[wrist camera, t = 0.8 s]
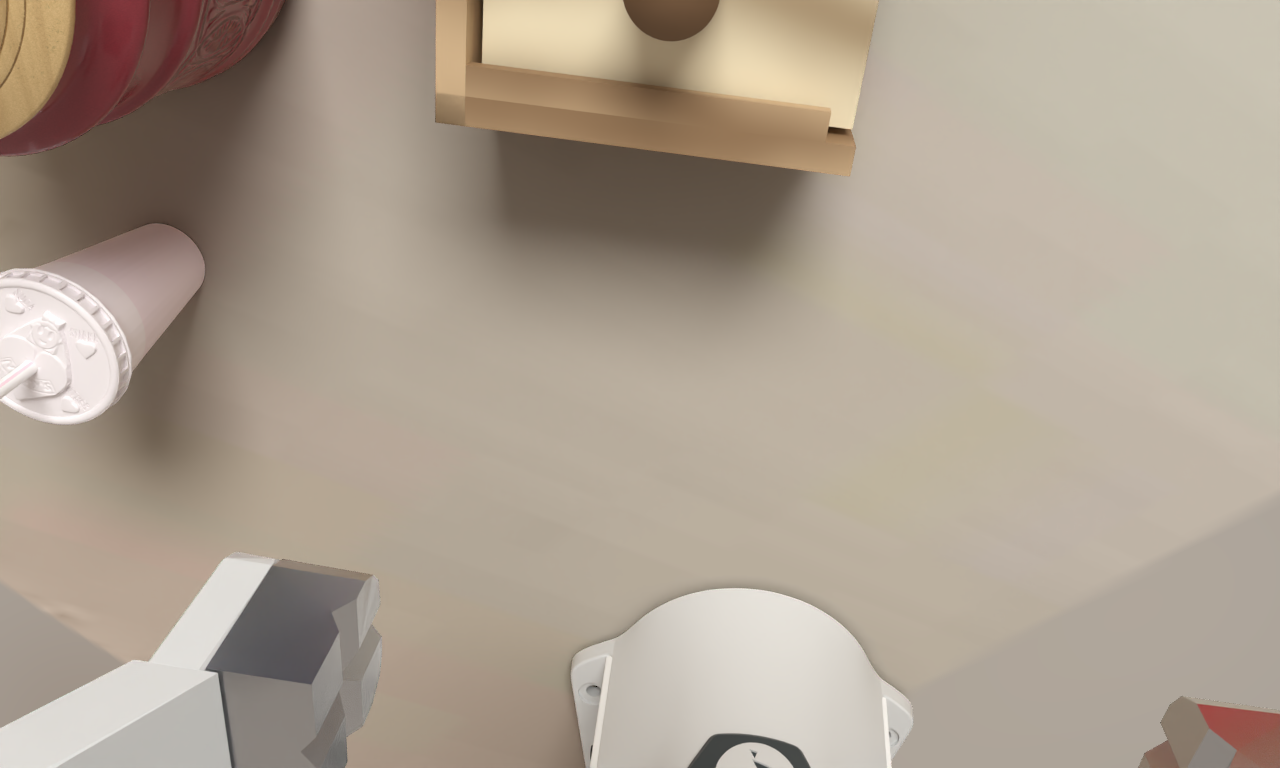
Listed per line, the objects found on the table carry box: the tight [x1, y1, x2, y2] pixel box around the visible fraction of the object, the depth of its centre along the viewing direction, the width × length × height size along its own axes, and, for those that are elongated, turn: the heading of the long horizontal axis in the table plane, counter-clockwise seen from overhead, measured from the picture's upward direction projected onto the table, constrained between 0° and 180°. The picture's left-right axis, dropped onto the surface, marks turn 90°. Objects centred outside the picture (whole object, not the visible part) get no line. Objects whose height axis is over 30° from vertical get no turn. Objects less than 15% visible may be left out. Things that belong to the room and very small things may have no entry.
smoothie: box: [0, 223, 205, 425], centre depth 41 cm, size 6×6×14 cm
